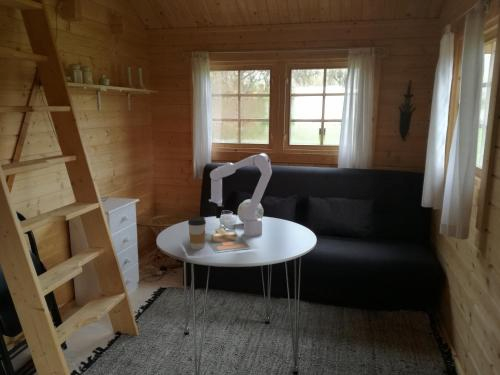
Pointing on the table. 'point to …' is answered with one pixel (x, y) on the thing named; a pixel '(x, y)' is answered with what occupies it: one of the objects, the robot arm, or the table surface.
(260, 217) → the puzzle ball
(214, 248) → the slate board
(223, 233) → the t block
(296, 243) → the table surface
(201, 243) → the coffee cup
